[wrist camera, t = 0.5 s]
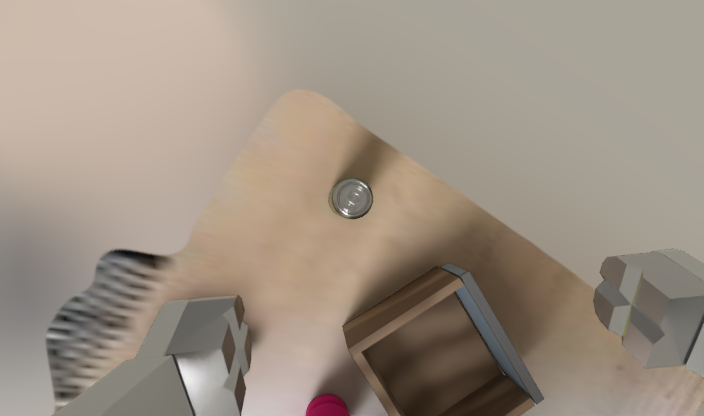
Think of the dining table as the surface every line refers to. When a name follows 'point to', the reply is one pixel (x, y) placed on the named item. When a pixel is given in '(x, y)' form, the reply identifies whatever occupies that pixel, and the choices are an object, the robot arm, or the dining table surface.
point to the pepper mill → (327, 406)
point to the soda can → (351, 198)
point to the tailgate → (494, 333)
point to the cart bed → (430, 355)
